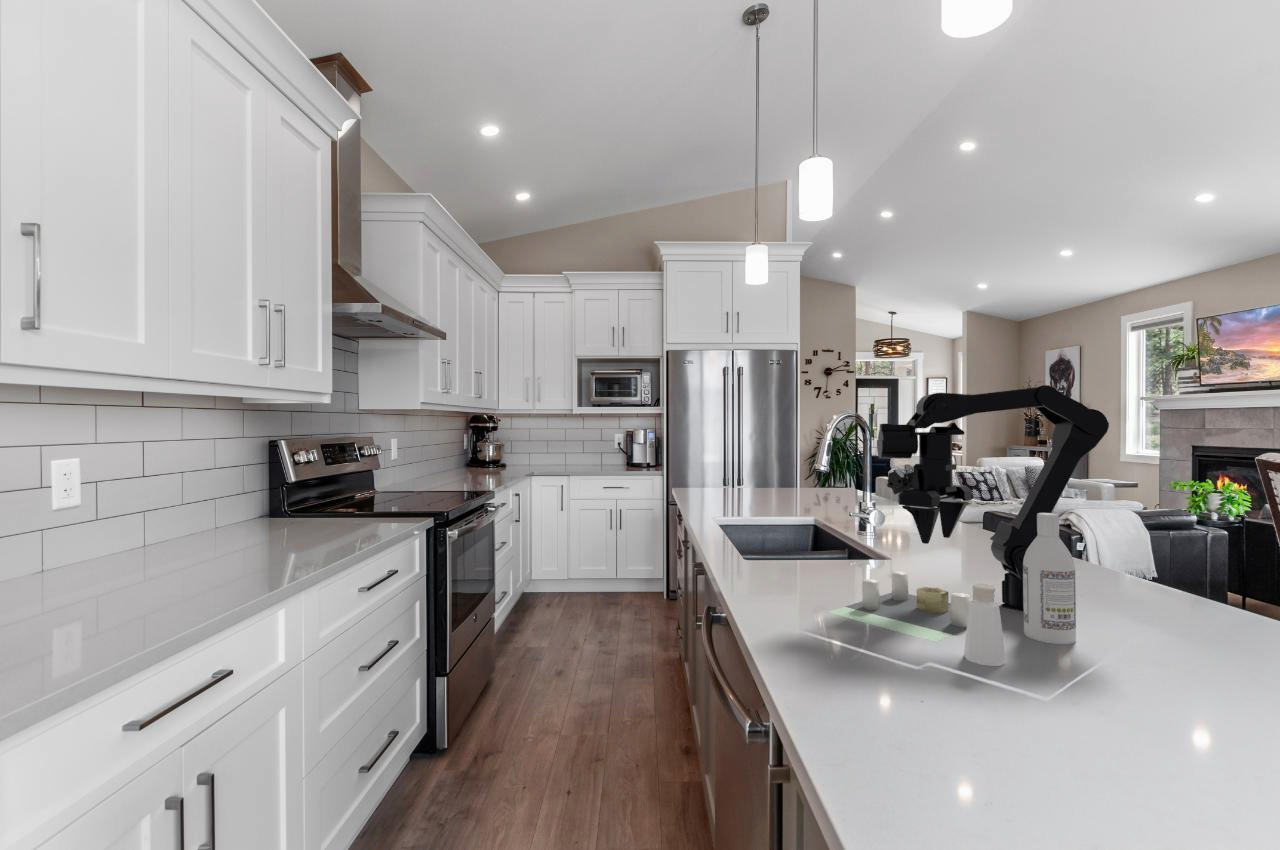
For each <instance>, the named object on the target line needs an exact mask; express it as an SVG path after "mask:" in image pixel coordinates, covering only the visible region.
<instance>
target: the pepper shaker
mask: <svg viewBox="0 0 1280 850" xmlns="http://www.w3.org/2000/svg"><path fill="white" fill-rule="evenodd" d="M973 589H974V600H973V599H972V600H971V601H970V604H969V612H968V621H967V629H966V632H965V642H964V651H963V653H964V654H963V656H964V658H966V660H967V661H968V662H972V663H974V664H978V665H981V666H991V667H993V666H994V667H1000V666H1003V665H1006V664H1007V658H1006V651H1005V641H1004V634H1003V626H1002V625H1003V624H1002V619H1001V618H1002V617H1001V610H1000V607H999V606H1000V605H999V604H997V603H996V601H995V598H996V597H995V592H996V588H995V587H994V586H993V585H991V584H987V583H975V584H973V586H972V590H973Z"/></svg>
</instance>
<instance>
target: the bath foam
mask: <svg viewBox="0 0 1280 850" xmlns="http://www.w3.org/2000/svg"><path fill="white" fill-rule="evenodd" d="M1037 534H1038V535H1037V537H1036V538H1035V539H1034V541H1033V542H1032V543H1031V544H1030V546H1029V547H1028V549H1027V551H1026V553H1025V556H1024V560H1023V609H1024V611H1023V633H1024V635H1025V636H1026V637H1028V638H1029V639H1032V640H1035V641H1038V642H1042V643H1047V644H1055V645H1071V644H1074V643H1075V642H1076V641H1077V615H1076V614H1077V607H1076V605H1077V603H1076V602H1077V601H1076V565H1075V561H1074V558H1073V556H1072V555H1073V554H1071V552H1070V550H1069V549H1068V547H1067V546H1066V545H1065V543H1064V542H1063V540H1061V539H1062V538H1061V537H1060V516H1059V514H1057V513H1053V512H1052V513H1038V514H1037Z"/></svg>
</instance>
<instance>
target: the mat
mask: <svg viewBox="0 0 1280 850" xmlns="http://www.w3.org/2000/svg"><path fill="white" fill-rule="evenodd" d="M828 613H829V614H832V615H836V616H840V617H842V618H846V619H850V620H854V621H858V622H861V623H865V624H869V625H872V626H876V627H880V628H883V629H887V630H891V631H894V632H897V633H901V634H904V635H909V636H913V637H917V638H920V639H924V640H926V641H931V642H933V643H936V642H939V641H940V640H941V641H942V640H944V639H946V638H948V637H950V636H954V635H955V634H959V633H960V632H962V631H964V630H967V628H962V627H956V626H953V625H952V624H951V602H949V611H947V612H944V613H942V614H940V613H930V612H924V611H922V610H920V609H918V608H917V595H913V594H910V593H908V600H907V601H898V600H894V599H892V592H888V593H885V594H882V595H880V609H879V610H867V609H864V608H863V603H862V601H859V602H855V603H853V604H849V605H846V606H842V607H840V608H838V609H837V608H836V609H833V610H830V611H827V614H828Z"/></svg>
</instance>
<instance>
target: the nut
mask: <svg viewBox="0 0 1280 850" xmlns="http://www.w3.org/2000/svg"><path fill="white" fill-rule="evenodd" d="M916 596H917V608H918V609H920V610H922V611H924V612H930V613H940V614H942V613H944V612H947V611H949V603H950V602H949V591H947V590H946V589H945V590H944V589H943V588H941V587H934V586H933V587H931V586H922V587H918V588H916Z"/></svg>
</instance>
